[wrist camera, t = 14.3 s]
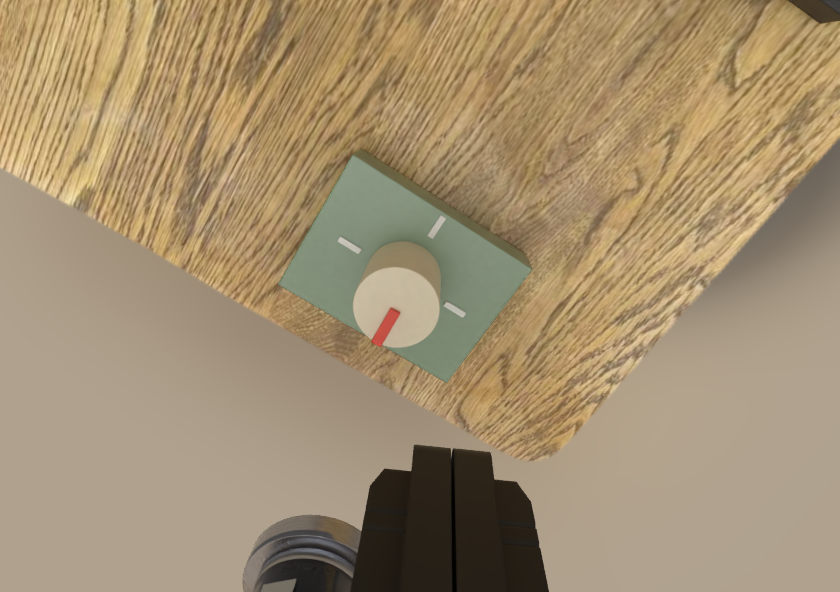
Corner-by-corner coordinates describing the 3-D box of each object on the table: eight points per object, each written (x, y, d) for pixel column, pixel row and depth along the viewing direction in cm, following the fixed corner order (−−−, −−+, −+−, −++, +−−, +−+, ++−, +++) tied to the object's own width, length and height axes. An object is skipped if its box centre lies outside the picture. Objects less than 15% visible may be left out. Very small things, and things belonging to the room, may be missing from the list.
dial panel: (526, 254, 35) (533, 270, 32) (446, 361, 38) (446, 385, 35) (360, 147, 33) (352, 154, 30) (290, 268, 36) (276, 285, 33)
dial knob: (387, 227, 32) (376, 253, 27) (454, 263, 32) (456, 295, 28) (352, 290, 33) (336, 325, 29) (418, 324, 34) (413, 364, 29)
